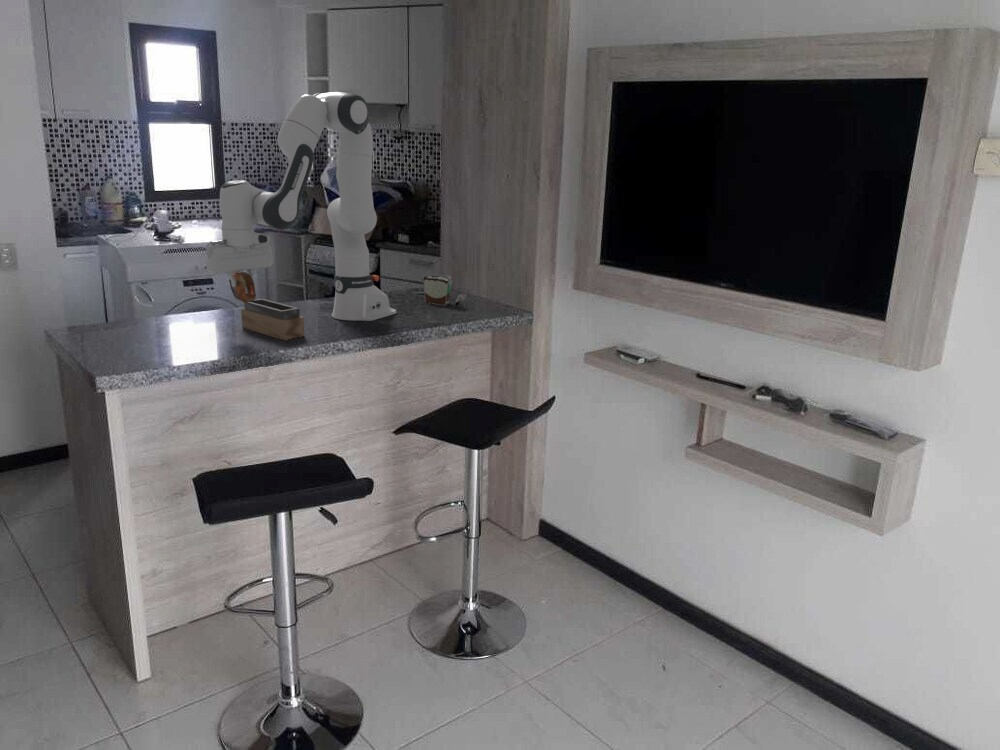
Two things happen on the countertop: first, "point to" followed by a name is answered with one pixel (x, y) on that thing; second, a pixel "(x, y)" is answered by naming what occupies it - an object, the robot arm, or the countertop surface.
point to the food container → (437, 289)
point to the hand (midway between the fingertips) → (242, 285)
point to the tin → (243, 287)
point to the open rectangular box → (273, 319)
